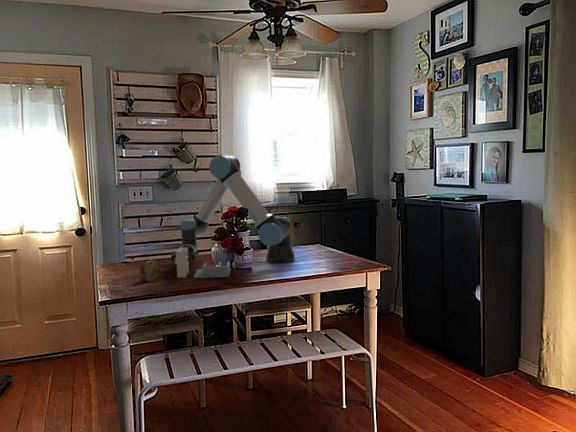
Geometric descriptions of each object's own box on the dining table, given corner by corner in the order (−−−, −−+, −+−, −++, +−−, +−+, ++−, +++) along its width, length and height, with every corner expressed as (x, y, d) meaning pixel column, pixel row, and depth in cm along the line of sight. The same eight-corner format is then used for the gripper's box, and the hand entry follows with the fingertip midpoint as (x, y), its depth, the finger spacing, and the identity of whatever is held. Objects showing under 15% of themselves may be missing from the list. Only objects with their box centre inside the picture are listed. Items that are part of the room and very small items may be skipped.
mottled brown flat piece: (145, 283, 219) (144, 264, 218) (139, 283, 219) (138, 264, 219) (161, 275, 233) (160, 258, 233) (154, 275, 234) (153, 258, 233)
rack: (230, 269, 243) (230, 259, 243) (229, 276, 227) (228, 266, 227) (197, 270, 242) (197, 261, 241) (193, 278, 226) (193, 267, 225)
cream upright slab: (189, 271, 241) (187, 247, 239) (185, 277, 229) (184, 251, 227) (180, 272, 240) (179, 247, 239) (177, 277, 228) (176, 252, 227)
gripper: (204, 258, 253) (199, 268, 229) (170, 260, 251) (162, 269, 228) (203, 244, 252) (199, 252, 229) (169, 245, 250) (161, 253, 227)
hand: (181, 261), depth 228 cm, fingers closed on cream upright slab, 4 cm apart
